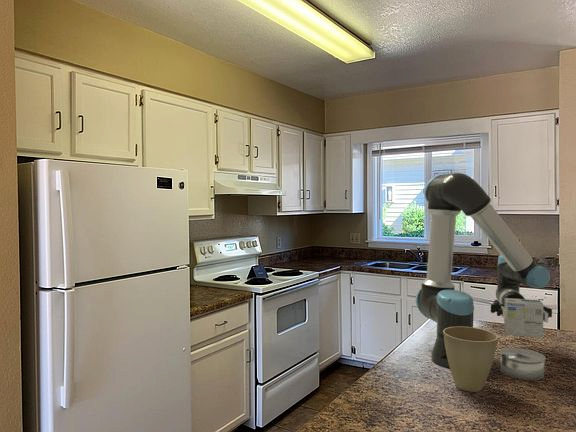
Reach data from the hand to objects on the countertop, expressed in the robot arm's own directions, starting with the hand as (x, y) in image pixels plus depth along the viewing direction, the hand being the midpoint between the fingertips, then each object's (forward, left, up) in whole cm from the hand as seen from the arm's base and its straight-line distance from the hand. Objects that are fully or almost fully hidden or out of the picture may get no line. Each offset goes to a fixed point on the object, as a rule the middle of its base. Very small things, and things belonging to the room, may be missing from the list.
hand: (525, 316), depth 139 cm
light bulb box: (+1, +4, -7) cm, 8 cm away
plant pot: (-21, -7, -19) cm, 29 cm away
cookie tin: (+1, +3, -19) cm, 19 cm away
